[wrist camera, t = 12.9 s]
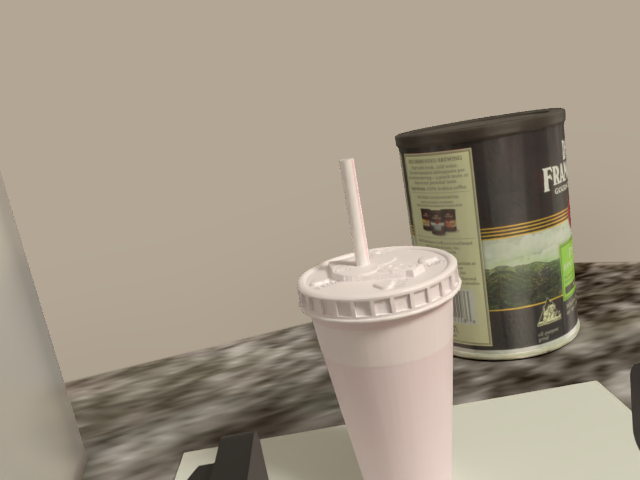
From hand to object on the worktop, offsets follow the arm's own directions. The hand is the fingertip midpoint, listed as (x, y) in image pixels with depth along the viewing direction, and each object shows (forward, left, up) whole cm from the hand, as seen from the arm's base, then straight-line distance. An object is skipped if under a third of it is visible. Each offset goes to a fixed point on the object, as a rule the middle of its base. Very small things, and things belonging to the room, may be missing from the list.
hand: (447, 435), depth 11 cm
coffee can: (+9, +24, -9) cm, 27 cm away
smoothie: (0, +10, -9) cm, 13 cm away
